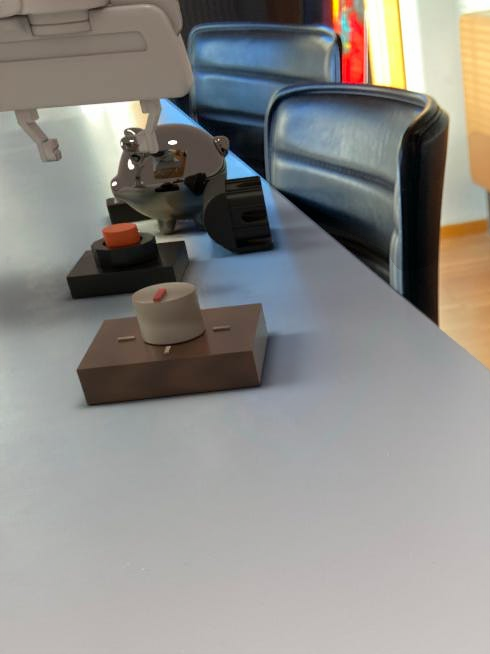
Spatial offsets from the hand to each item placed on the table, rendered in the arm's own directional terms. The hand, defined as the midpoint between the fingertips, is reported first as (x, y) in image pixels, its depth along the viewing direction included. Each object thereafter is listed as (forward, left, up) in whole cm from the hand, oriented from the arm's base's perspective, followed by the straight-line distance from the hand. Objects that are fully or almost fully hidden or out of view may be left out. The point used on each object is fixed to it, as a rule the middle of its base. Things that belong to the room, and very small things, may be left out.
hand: (101, 156), depth 98 cm
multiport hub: (-4, +35, -13) cm, 38 cm away
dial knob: (+7, -23, -10) cm, 26 cm away
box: (-2, +6, -13) cm, 15 cm away
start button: (-2, +6, -10) cm, 11 cm away
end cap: (+9, +16, -13) cm, 23 cm away
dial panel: (+7, -23, -13) cm, 28 cm away
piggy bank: (+1, +27, -13) cm, 30 cm away
